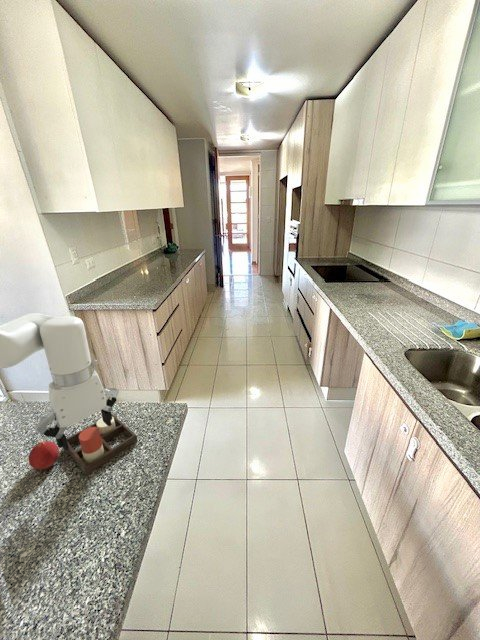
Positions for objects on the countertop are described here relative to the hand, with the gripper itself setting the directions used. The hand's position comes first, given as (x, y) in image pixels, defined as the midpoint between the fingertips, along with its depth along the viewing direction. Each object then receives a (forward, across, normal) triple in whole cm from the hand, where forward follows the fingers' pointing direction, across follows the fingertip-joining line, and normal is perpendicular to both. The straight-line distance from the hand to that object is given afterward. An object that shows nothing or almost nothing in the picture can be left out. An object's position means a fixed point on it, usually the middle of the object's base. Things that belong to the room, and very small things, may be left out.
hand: (87, 434), depth 62 cm
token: (+8, -7, -6) cm, 12 cm away
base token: (+8, 0, 0) cm, 8 cm away
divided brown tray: (+8, -4, -3) cm, 10 cm away
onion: (+9, +8, -7) cm, 14 cm away
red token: (+4, 0, 0) cm, 4 cm away
